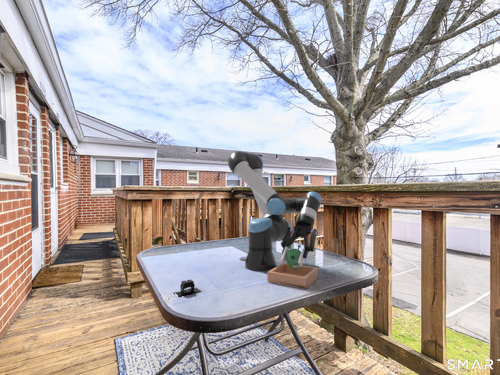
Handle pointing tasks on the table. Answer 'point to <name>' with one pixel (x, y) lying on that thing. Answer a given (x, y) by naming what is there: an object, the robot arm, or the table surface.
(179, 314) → the table surface
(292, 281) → the planter tray
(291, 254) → the alien toy
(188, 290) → the black box
